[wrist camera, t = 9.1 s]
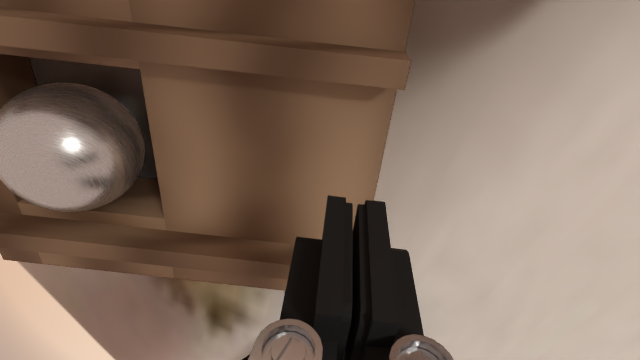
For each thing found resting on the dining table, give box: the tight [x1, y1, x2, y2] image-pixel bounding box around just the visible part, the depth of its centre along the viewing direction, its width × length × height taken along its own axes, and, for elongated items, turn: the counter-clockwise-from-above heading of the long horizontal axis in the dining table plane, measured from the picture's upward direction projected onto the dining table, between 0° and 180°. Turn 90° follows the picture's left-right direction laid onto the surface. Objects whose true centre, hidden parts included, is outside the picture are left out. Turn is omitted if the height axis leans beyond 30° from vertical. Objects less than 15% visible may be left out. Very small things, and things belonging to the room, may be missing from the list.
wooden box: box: [0, 0, 415, 291], centre depth 17 cm, size 20×16×5 cm
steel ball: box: [0, 83, 145, 212], centre depth 17 cm, size 6×6×6 cm
